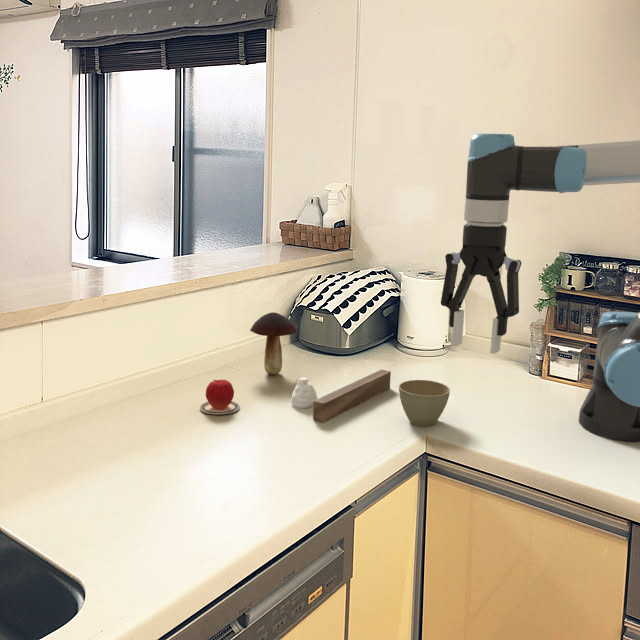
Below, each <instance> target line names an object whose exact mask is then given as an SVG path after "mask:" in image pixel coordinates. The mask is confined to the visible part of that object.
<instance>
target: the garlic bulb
mask: <svg viewBox="0 0 640 640" xmlns="http://www.w3.org/2000/svg"><path fill="white" fill-rule="evenodd" d="M317 399H319V397H318V395H317V391H316V389H315V387H314V386H313V385H312V384H311V382H309V379H308V378H307V377H300V378H299V379H298V380H297V383H296V385H295V387H294V390H293V392H292V395H291V405H292V406H293V407H295V408H297V409H310V408H313V403H314V400H317Z"/></svg>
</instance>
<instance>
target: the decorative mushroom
mask: <svg viewBox="0 0 640 640" xmlns="http://www.w3.org/2000/svg"><path fill="white" fill-rule="evenodd" d="M249 332H252V333H254V334H256V335H258V336H259V335H260V336H264V337H265V336H266V341H265V348H264V356H263V357H264V359H263V360H264V364H263V365H264V371H265V372H266V373H267V374H268V375H272V376H275V375H278V374H279V373H280V372H281V371H282V368H283V350H282V344H281V339H280V338H281V337H285V336H289V335H294V334H296V333H297V332H298V329H297V327H296V325H295V323H294V322H293V321H292V320H291V319H289V318H288V317H286V316H285V315H282V314H280V313H278V312H268V313H266V314H263V315H262V316H260V318H258V319H256V321H255V322H254V323H253V325H252V326H251V328H250V330H249Z"/></svg>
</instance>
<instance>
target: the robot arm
mask: <svg viewBox="0 0 640 640" xmlns="http://www.w3.org/2000/svg"><path fill="white" fill-rule="evenodd" d="M634 183H635V184H638V183H639V184H640V139H639V140H624V141H623V140H621V141H610V142H598V143H584V144H583V143H581V144H577V145H576V144H575V145H574V144H573V145H570V144H569V145H559V146H558V145H557V146H551V145H550V146H523V145H516V141H515V136H514V135H513V134H511V133H477V134H476V133H475V134H474V135H473V136H472V137H470V140H469V149H468V159H467V169H466V188H465V203H464V212H463V213H464V215H463V220H464V221H465V222H467V223H465V224H464V225H463V228H462V229H463V231H462V246H461V247H462V248H461V249H460V250H459V252H450V253H446V254H445V256H444V258H445V263H446V269H445V275H444V280H443V287H442V292H441V297H440V305H441V306H442V307H446V308H447V309H449V321H448V322H449V327H450V328H452V342H451V343H452V344H451V345H452V346H451V347H457V346H459V345H460V346H461V344H462V343H463V334H464V333H463V332H464V321H465V319H464V318H465V317H464V316H465V309H461V308H462V307H463V306H462V305H463V302H464V299H465V298H466V295H467V293H468V291H469V289H470V286H471V285H472V281H473V280H474V278H475V277H476V276H481V277H485V278H486V281H487V283H488V284H489V288H490V291H491V296H492V299H493V304H494V308H495V311H496V314H497V316H495V317H493V318H492V325H491V326H492V328H491V342H490V350H489V352H490V354H492V355H495V354H497V353H499V352H501V345H502V344H501V343H502V341H501V340H502V337H503V336H505V335H506V334H507V330H508V319H509V318H510V317H514V316H516V315H518V314H519V313H520V298H519V297H520V294H519V286H520V283H519V281H520V280H519V272H520V269H521V266H522V261H521V260H520V259H514V258H510V257H508V256H507V253H506V244H507V243H506V241H507V229H508V227H507V226H506V225H505V224H506V223H507V222H508V218H509V217H508V216H509V206H510V194H511V191H529V192H544V193H545V192H548V193H549V192H551V193H559V194H564V193H578V192H580V191H582V189H583V187H584V186H585V187H586V186H601V185H620V184H621V185H623V184H634ZM460 262H462V263H463V265H464V269H463V271H462V274H461V279H460V281H459V283H458V286H457V288H456V281H457V277H458V270H459V264H460ZM503 265H505V270H506V295H505V292H504V291H505V290H504V287H503V284H502V281H501V278H502V277H501V276H502V275H501V273H500V269H501V268H502V266H503ZM455 288H456V291H455ZM506 297H507V298H506ZM506 300H507V301H506ZM597 328H598V334H597V342H596V352H595V358H594V367H593V377H592V385H591V387H590V388H589V391H588V393H587V394H586V397H585V399H584V400H583V402H582V404H581V407H580V410H579V414H578V415H579V416H578V423H579V425H580V426H581V427H583V428H584V429H586V430H588V432H591V433H594V434H595V435H598V436H601V437H605V438H608V439H613V440H617V439H618V441H623V442H625V441H626V442H640V312H631V311H606V312H604V313H602V314H601V315H600V319H599V323H598V325H597Z"/></svg>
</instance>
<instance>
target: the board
mask: <svg viewBox="0 0 640 640" xmlns="http://www.w3.org/2000/svg"><path fill="white" fill-rule="evenodd" d="M391 373H392V371H391V370H386V369H380V370H378V371H376V372H373V373H371V374H368V375H367V376H365V377H362V378H360V379H358V380H356V381H353V382H351V383H350V384H347V385H345V386H343V387H341V388H339V389H336V390H334V391H332V392H330V393H328V394H327V393H326V395H324V396H320V397H318V399H317V400H314V403H313V407H312V408H313V411H312V412H313V413H312V414H313V415H312V420H313V421H316V422H319V423H323V424H324V423H326V422H327V421H329V420H331V419H333V418H335V417H337V416H339V415H341V414H343V413H345V412H347V411H349V410H351V409H352V408H355V407H357V406H359V405H360V404H362V403H365V402H367V401H369V400H370V399H372V398H374V397H376V396H378V395H380V394H382V393H384V392H386V391H388V390H389V389H391Z"/></svg>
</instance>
